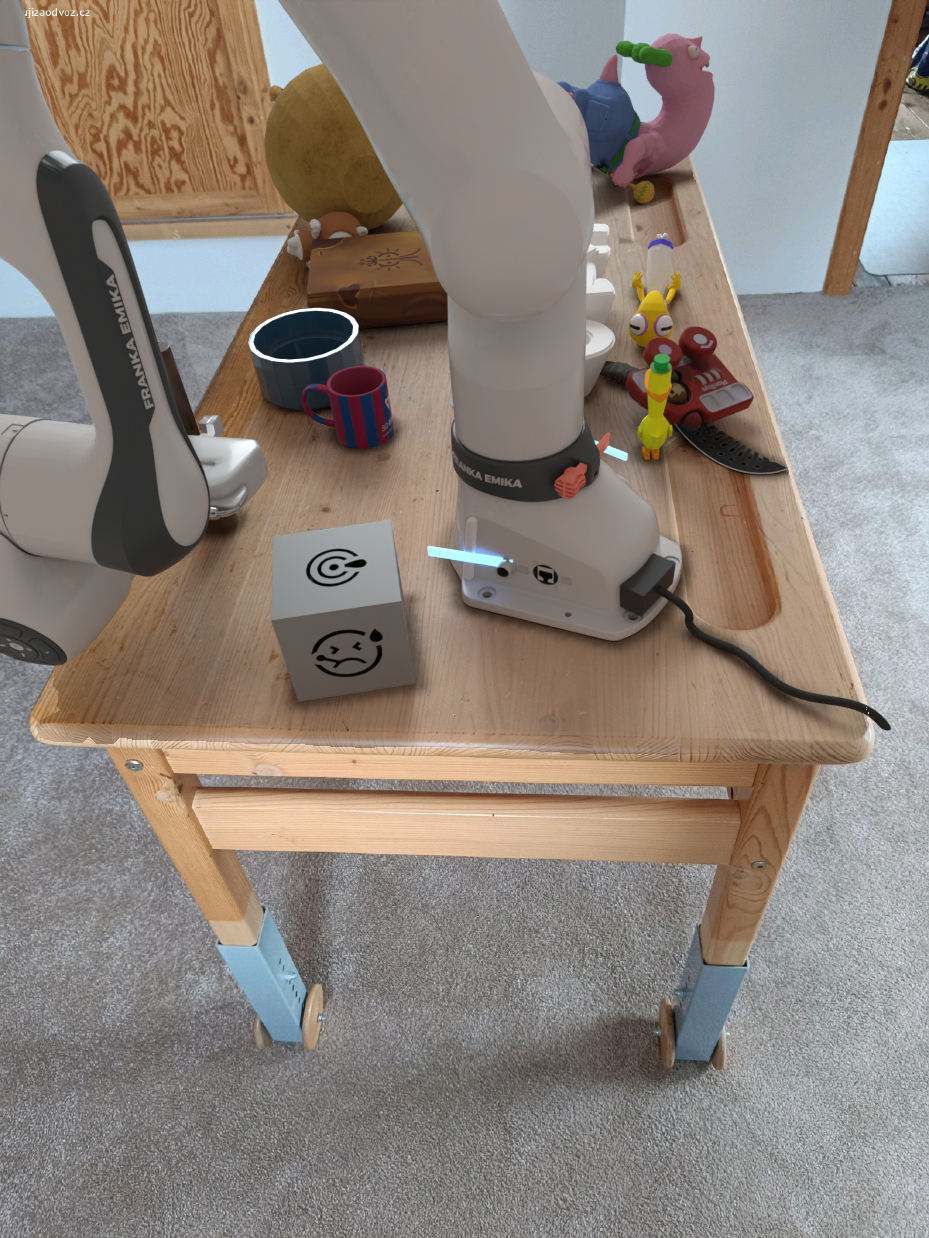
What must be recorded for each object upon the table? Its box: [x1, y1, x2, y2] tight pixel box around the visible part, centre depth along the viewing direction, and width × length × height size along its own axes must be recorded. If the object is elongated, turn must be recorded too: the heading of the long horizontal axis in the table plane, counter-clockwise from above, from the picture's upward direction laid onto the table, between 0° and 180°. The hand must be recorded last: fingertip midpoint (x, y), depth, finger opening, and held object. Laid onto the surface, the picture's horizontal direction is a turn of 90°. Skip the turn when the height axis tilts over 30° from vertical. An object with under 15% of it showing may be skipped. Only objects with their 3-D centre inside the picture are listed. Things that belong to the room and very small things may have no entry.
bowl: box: [247, 308, 366, 411], centre depth 105 cm, size 13×13×7 cm
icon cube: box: [270, 519, 416, 703], centre depth 71 cm, size 10×10×10 cm
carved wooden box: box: [306, 229, 448, 330], centre depth 120 cm, size 23×19×6 cm
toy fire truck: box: [624, 325, 755, 431], centre depth 94 cm, size 7×12×10 cm
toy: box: [556, 33, 716, 205], centre depth 141 cm, size 24×24×30 cm
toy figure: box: [636, 354, 673, 461], centre depth 88 cm, size 7×4×12 cm, turn 178°
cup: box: [302, 365, 395, 450], centre depth 97 cm, size 7×10×7 cm
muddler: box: [158, 341, 239, 535], centre depth 82 cm, size 4×4×20 cm
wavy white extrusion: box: [584, 223, 616, 398], centre depth 106 cm, size 35×16×11 cm, turn 172°
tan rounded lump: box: [263, 63, 403, 231], centre depth 135 cm, size 24×24×30 cm
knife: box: [599, 360, 789, 475], centre depth 96 cm, size 28×2×5 cm
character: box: [628, 232, 682, 348], centre depth 110 cm, size 6×10×20 cm
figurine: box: [286, 211, 369, 268], centre depth 128 cm, size 9×9×12 cm
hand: (188, 419), depth 81 cm, fingers open, 4 cm apart
